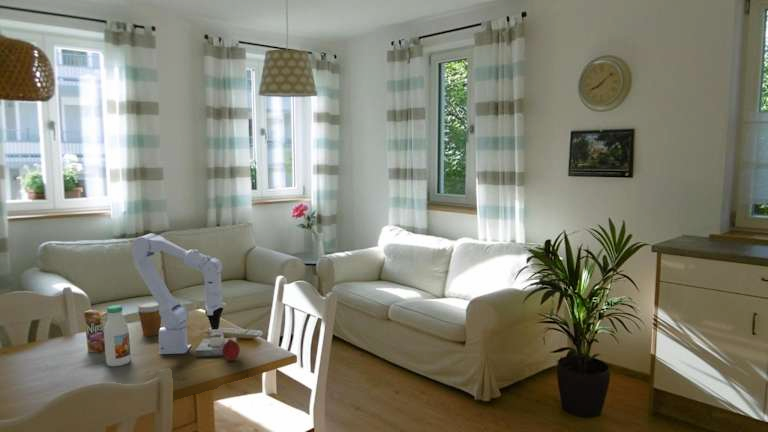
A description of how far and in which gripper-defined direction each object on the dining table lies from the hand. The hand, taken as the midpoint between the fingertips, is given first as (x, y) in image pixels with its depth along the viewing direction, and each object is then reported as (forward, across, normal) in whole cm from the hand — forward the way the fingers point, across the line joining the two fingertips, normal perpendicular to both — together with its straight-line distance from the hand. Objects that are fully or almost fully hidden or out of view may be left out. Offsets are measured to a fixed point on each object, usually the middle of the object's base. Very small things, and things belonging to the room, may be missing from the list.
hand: (215, 328), depth 202 cm
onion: (+8, -11, -7) cm, 15 cm away
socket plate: (+8, 0, 0) cm, 8 cm away
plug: (+8, 0, 0) cm, 8 cm away
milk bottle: (+8, -8, +31) cm, 33 cm away
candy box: (+8, +4, +42) cm, 43 cm away
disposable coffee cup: (+8, +23, +30) cm, 39 cm away
